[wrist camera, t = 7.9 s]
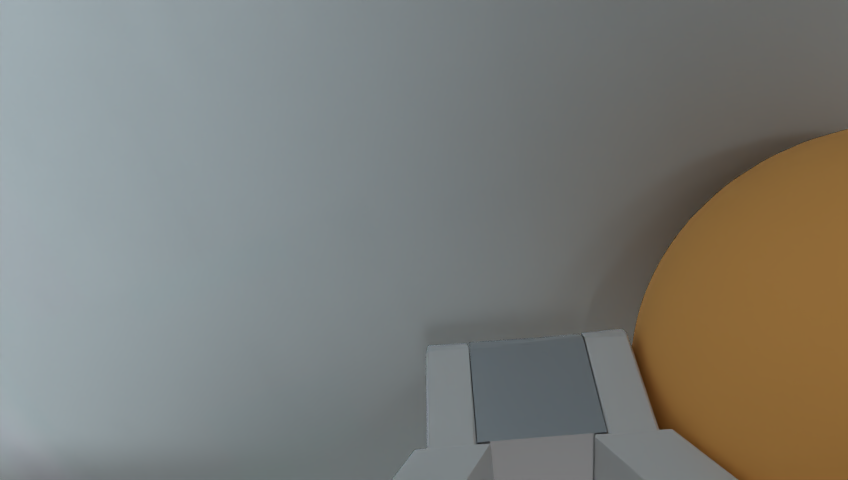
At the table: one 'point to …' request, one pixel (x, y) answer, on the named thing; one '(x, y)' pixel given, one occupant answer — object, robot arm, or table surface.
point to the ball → (758, 320)
